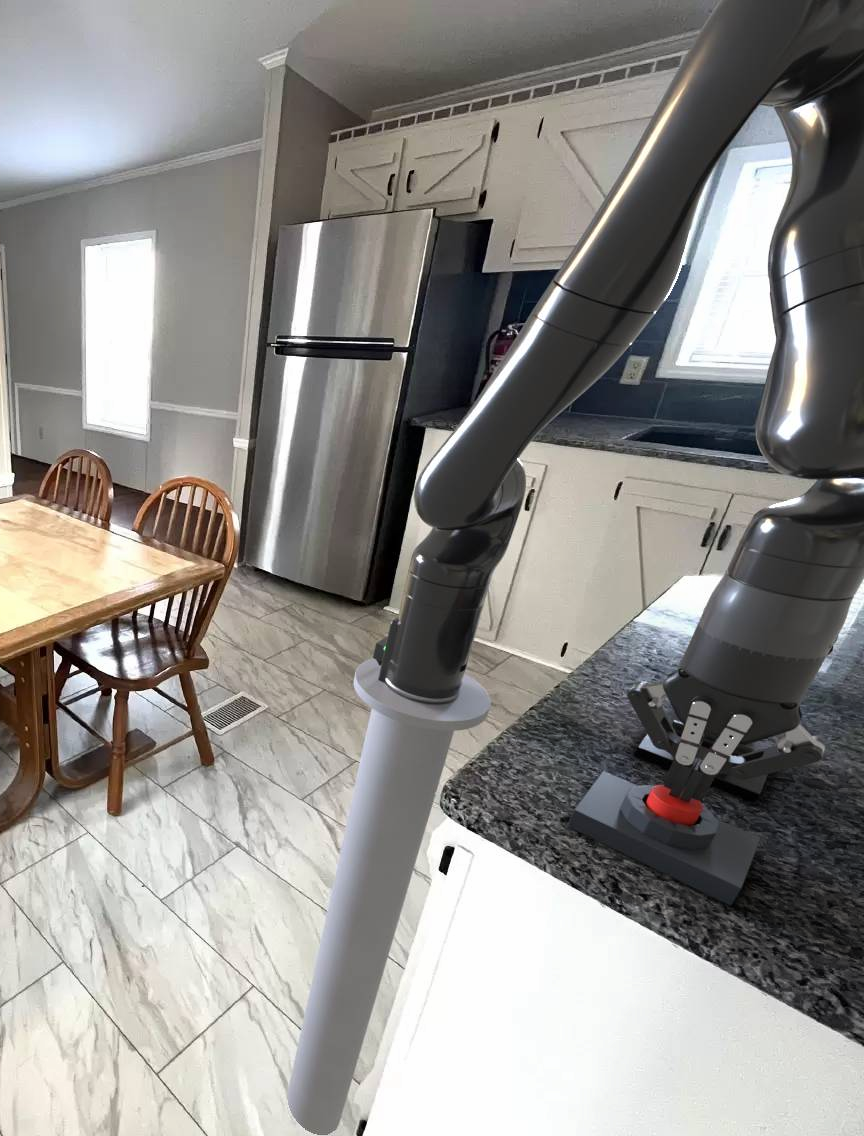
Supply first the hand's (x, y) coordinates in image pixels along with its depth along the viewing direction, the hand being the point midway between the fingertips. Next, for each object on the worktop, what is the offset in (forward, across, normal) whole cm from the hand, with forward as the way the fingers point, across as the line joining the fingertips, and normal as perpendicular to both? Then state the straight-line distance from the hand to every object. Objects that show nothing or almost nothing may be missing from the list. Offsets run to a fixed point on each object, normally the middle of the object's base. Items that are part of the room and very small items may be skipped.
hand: (681, 795), depth 59 cm
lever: (-2, 0, +15) cm, 16 cm away
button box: (+6, 0, 0) cm, 6 cm away
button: (+2, 0, 0) cm, 2 cm away
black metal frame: (+6, 0, +20) cm, 21 cm away
